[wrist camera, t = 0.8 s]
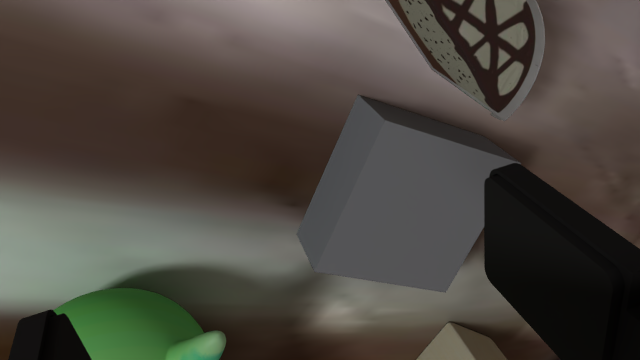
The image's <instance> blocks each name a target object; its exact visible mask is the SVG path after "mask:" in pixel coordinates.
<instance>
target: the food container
mask: <svg viewBox="0 0 640 360" xmlns="http://www.w3.org/2000/svg"><path fill="white" fill-rule="evenodd" d="M385 1H386V2H387V4H388V5H389V7H390V8H391V10H392V11H393V13H394V14H395V16H396V17H397V19H398V20H399V22H400V23H401V25H402V26H403V28H404V29H405V31H406V32H407V34H408V35H409V37H410V38H411V40H412V41H413V43H414V44H415V46H416V47H417V49H418V50H419V52H420V53H421V55H422V56H423V58H424V59H425V61H426V62H427V64H428V65H429V66H430V68H431V69H432V70H433V71H434V72H436V73H437V74H439V75H440V76H441V77H443V78H444V79H446V80H447V81H448V82H450V83H451V84H453V85H454V86H455V87H457V88H458V89H460V90H461V91H462V92H464V93H465V94H467V95H468V96H469V97H471V98H472V99H474V100H475V101H476V102H478V103H479V104H481V105H482V106H483V107H485V108H486V109H488V110H489V111H490V112H492V113H491V116H493V117H495V118H497V119H499V120H503V121H506V120H507V119H508V118H509V117H510V116H511V115H512V114H513V113H514V112H515V111H516V109H517V108H518V107H519V106H520V105H521V103H522V102H523V101H524V99H525V98H526V96H527V95H528V93H529V92H530V90H531V88H532V86H533V84H534V82H535V80H536V78H537V75H538V72H539V70H540V67H541V63H542V59H543V55H544V47H545V27H544V22H543V16H542V13H541V11H540V8H539V5H538V3H537V2H536V0H385Z"/></svg>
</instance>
